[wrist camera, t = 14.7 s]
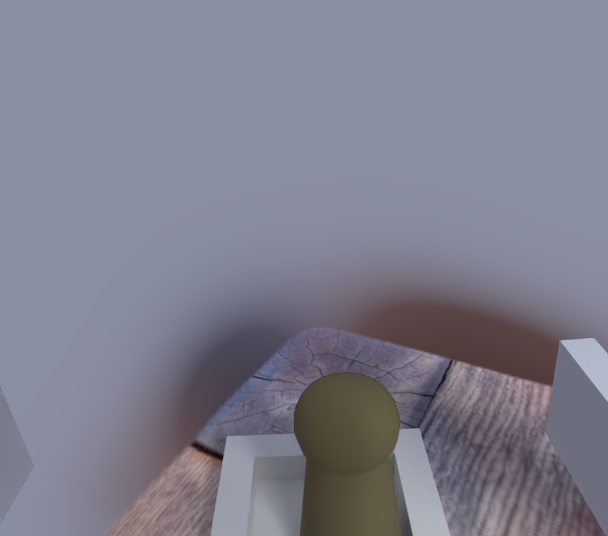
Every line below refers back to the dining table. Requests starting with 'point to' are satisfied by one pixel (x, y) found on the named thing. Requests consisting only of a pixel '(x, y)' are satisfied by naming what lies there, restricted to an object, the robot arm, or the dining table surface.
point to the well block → (290, 485)
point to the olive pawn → (348, 457)
